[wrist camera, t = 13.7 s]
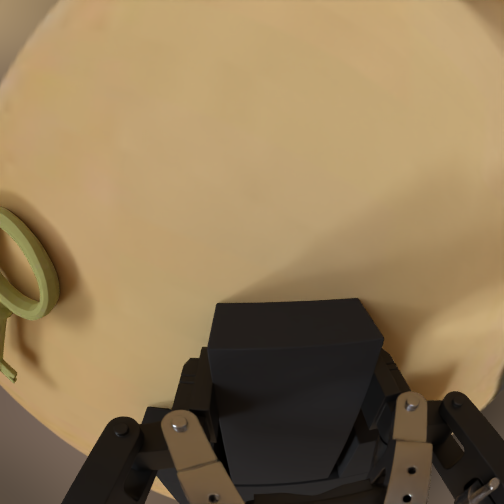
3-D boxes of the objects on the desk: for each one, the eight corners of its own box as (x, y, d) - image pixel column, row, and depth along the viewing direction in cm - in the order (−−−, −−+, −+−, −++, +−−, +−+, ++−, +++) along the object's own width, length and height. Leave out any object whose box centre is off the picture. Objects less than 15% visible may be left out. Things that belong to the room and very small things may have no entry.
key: (3, 354, 13) (-11, 370, 11) (-17, 195, 9) (-43, 203, 7) (74, 397, 14) (62, 418, 12) (65, 228, 10) (36, 243, 8)
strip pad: (358, 297, 11) (385, 338, 8) (321, 444, 15) (328, 478, 12) (216, 302, 11) (206, 348, 8) (234, 448, 15) (232, 484, 12)
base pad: (407, 392, 14) (425, 425, 11) (361, 471, 18) (368, 495, 15) (147, 406, 14) (134, 444, 11) (185, 480, 18) (181, 506, 15)
